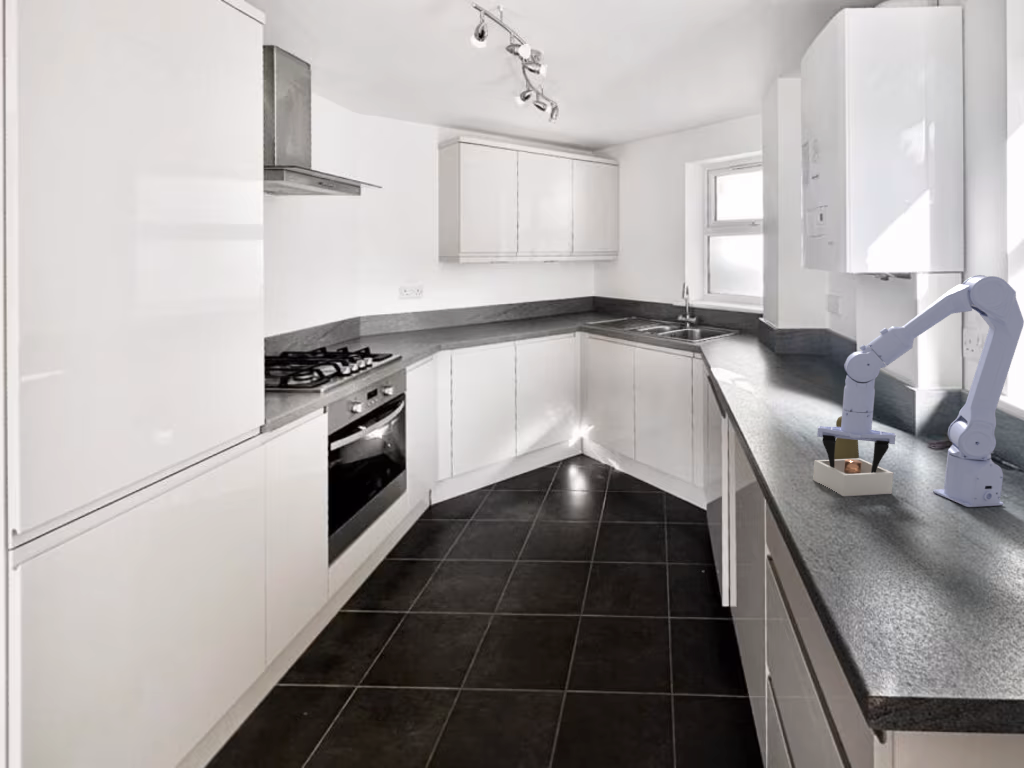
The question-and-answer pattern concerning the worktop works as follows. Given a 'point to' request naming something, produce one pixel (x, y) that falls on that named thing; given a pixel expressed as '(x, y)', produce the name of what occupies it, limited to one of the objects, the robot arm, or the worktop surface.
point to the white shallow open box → (853, 478)
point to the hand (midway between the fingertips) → (852, 473)
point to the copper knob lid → (852, 466)
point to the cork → (845, 446)
